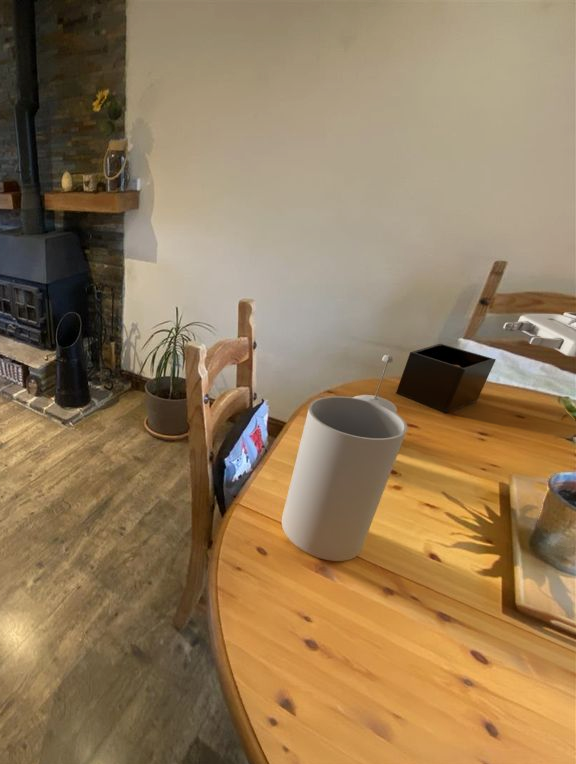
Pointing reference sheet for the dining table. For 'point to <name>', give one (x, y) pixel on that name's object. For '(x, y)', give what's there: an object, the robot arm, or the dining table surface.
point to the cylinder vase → (340, 475)
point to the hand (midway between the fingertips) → (517, 333)
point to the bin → (444, 377)
